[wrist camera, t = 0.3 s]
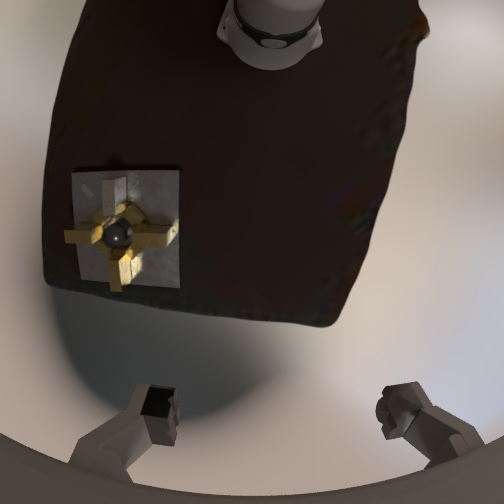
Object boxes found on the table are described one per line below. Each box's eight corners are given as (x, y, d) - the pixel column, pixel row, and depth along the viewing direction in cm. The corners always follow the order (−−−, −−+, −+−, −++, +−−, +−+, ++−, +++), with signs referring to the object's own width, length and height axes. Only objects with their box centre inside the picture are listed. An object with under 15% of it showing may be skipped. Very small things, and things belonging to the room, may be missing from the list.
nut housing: (76, 172, 50) (57, 176, 43) (181, 169, 51) (172, 172, 44) (85, 275, 57) (70, 289, 51) (181, 283, 58) (174, 300, 51)
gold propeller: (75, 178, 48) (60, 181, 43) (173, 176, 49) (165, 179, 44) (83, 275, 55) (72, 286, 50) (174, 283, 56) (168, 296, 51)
